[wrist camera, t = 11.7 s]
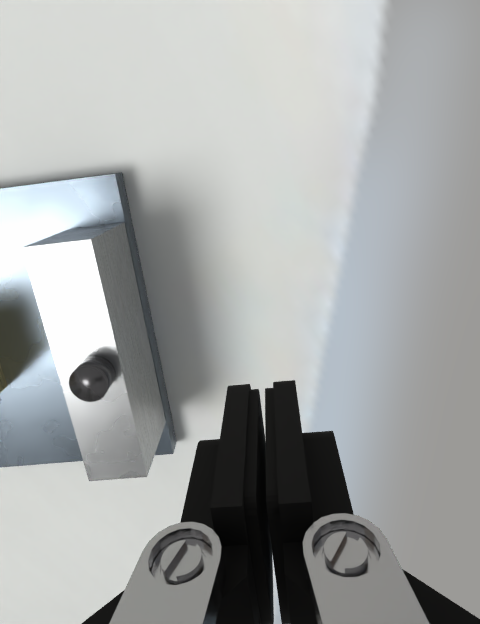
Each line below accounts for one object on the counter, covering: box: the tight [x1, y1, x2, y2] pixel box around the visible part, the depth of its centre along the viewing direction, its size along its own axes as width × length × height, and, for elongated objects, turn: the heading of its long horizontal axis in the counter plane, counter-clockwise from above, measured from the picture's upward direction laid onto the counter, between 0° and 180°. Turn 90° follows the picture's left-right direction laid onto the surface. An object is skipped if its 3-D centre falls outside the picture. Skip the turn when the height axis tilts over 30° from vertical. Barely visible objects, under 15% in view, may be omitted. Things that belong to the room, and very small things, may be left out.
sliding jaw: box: [21, 223, 166, 481], centre depth 18 cm, size 10×2×5 cm, turn 7°
